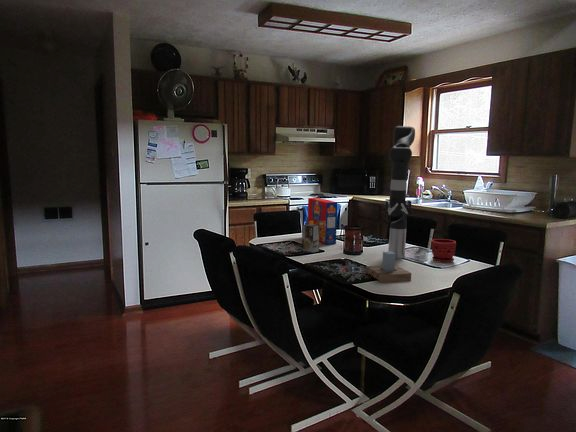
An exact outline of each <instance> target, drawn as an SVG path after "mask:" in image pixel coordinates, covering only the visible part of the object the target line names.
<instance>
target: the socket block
mask: <svg viewBox="0 0 576 432" xmlns="http://www.w3.org/2000/svg"><path fill="white" fill-rule="evenodd" d="M366 272H367V273H368V274H367V273H366ZM365 273H366V274H367V275H369V274H370V275H371V276H370V275H369V276H370V277H372V276H373V277H374V279H375V278H376V279H377V281H378V282H380V283H389V282H401V281H411V280H412V272H410V271H408V270H407V269H405V268H403V267H401V266H399V265H397V264H395V271H387V272H385V271H384V270H382V264H378V265H366V266H365ZM373 277H372V278H373ZM376 279H375V280H376Z"/></svg>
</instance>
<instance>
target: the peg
mask: <svg viewBox="0 0 576 432" xmlns="http://www.w3.org/2000/svg"><path fill="white" fill-rule="evenodd" d="M381 263H382V264H381V265H382V270H384V271H385V272H387V271H395V265H396V258H395V253H393V252H391V251H389V252H388V251H383V252H382V261H381Z"/></svg>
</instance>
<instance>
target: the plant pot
mask: <svg viewBox="0 0 576 432" xmlns="http://www.w3.org/2000/svg"><path fill="white" fill-rule="evenodd" d="M430 246H431V247H430V248H431V253H432V254H431V255H432V260H433V261H434V262H435V261H436V262H437V263H440V262H441V263H442V264H450V263H452V262H454V261H455V258H454V256H455V255H456V254H455V253H456V248H457V242H456V240H453V239H447V238H446V239H445V238H433V239H431V241H430ZM441 263H440V264H441Z"/></svg>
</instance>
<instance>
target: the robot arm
mask: <svg viewBox="0 0 576 432" xmlns="http://www.w3.org/2000/svg"><path fill="white" fill-rule="evenodd" d="M415 139H416V129H415V128H414V126H410V125H409V126H406V125H405V126H403V125H396V126H395V128H394V129H393V142H392V143H393V144H392V145H393V146H392V147H391V148H390V150H389V153H388V159H389V160H390V161H391V163H392V165H391V175H390V188H389V189H390V190H389V199H388V201H387V200H384V201H383V205H382V206H383V207H382V213H383V214H385V219H386V220H385V221H386V222H387V223H389V237H388V239H389V240H388V251H387V252H389V251H391V252H393V253H395V259H398V260H400V259H405V257H406V241H407V240H406V238H407V223H408V214H410V213H412V200H409V199H407V200H406V198H407V197H406V196H407V187H408V186H407V181H408V179H409V173H410V172H409V169H410V167H409V164H410V162H411V159H412V157H413V152H412V151H413V150H412V149H411V146H412V144H413V143H414V141H415ZM391 217H400V218H399V219H397V220H394V221H391Z"/></svg>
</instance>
